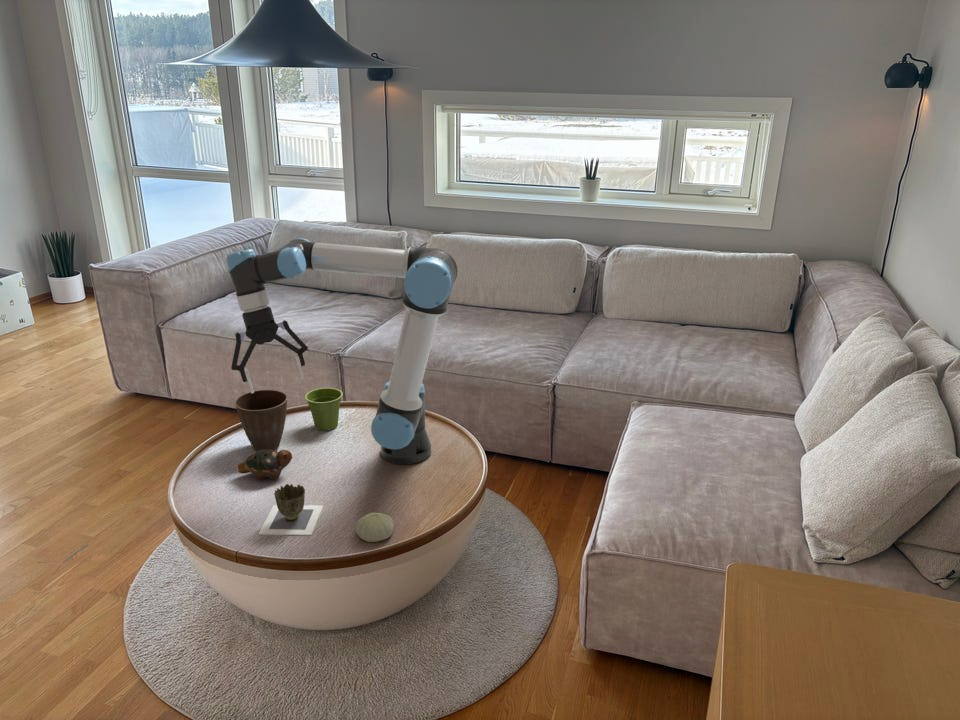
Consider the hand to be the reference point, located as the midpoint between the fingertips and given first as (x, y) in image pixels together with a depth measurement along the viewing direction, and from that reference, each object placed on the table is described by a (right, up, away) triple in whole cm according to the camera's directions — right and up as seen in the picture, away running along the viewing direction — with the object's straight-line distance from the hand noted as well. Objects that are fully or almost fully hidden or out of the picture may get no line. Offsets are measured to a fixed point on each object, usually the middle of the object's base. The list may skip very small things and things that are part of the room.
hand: (278, 385), depth 192 cm
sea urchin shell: (+28, -36, -16) cm, 49 cm away
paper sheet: (+7, -34, -11) cm, 36 cm away
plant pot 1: (-11, -20, +26) cm, 34 cm away
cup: (+7, -34, -11) cm, 36 cm away
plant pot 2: (+4, -15, +40) cm, 43 cm away
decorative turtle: (-6, -26, +10) cm, 29 cm away
